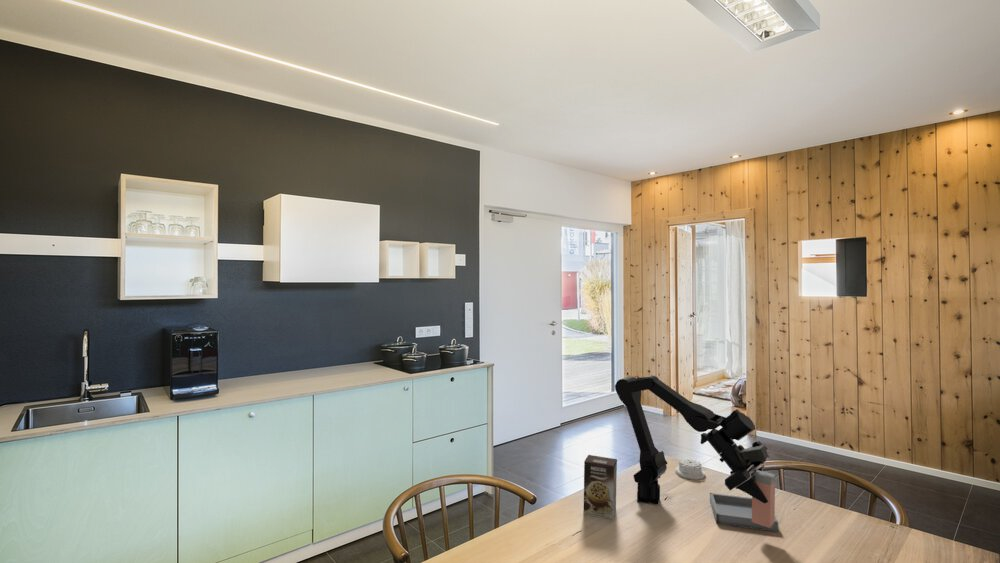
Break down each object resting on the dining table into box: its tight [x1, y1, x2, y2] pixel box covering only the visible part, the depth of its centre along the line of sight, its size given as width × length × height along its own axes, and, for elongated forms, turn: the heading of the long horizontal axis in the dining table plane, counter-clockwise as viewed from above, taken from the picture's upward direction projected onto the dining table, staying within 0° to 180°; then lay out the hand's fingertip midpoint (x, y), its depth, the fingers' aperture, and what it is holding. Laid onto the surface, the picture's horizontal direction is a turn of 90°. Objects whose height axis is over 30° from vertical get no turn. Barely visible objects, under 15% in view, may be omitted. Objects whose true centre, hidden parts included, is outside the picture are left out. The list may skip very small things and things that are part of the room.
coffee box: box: [582, 454, 618, 521], centre depth 146 cm, size 9×6×16 cm
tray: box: [709, 492, 779, 533], centre depth 144 cm, size 16×14×3 cm
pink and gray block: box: [751, 470, 776, 528], centre depth 132 cm, size 4×4×13 cm
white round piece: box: [675, 458, 706, 480], centre depth 174 cm, size 10×4×10 cm
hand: (769, 499), depth 131 cm, fingers closed on pink and gray block, 4 cm apart
